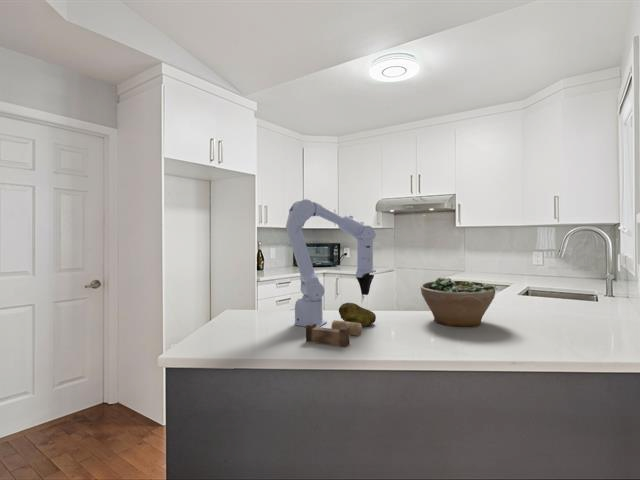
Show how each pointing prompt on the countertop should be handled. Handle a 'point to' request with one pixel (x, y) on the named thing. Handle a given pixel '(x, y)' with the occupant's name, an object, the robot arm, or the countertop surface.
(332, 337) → the stop rail
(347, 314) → the potato
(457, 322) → the planter
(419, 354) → the countertop surface
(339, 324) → the roller
